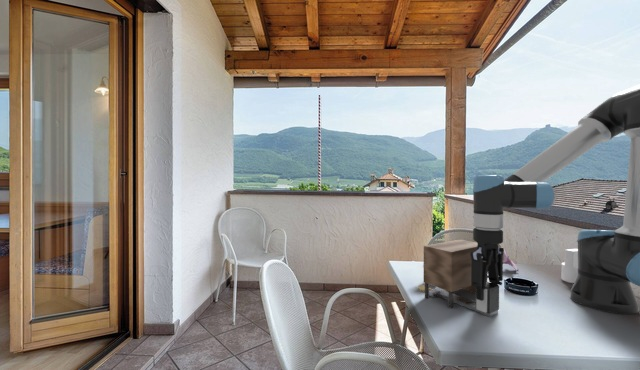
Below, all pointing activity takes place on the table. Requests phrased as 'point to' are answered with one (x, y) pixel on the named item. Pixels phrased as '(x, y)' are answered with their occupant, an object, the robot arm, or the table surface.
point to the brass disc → (423, 288)
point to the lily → (508, 261)
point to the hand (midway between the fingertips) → (487, 308)
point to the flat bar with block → (491, 301)
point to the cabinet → (449, 266)
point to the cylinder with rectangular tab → (570, 266)
